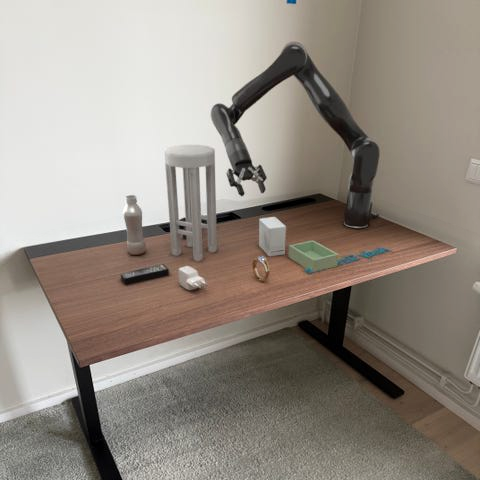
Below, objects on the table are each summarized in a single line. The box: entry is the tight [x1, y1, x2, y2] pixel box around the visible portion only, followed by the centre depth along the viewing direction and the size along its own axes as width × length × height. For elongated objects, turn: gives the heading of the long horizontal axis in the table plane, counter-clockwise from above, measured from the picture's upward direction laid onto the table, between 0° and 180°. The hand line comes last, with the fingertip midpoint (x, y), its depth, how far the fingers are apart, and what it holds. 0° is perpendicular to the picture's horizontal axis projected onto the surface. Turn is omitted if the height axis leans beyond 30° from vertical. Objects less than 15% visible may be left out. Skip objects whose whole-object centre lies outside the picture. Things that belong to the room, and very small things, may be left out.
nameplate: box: [304, 246, 391, 275], centre depth 162 cm, size 37×1×5 cm
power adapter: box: [177, 265, 209, 291], centre depth 141 cm, size 11×5×6 cm, turn 39°
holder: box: [287, 240, 340, 273], centre depth 160 cm, size 10×14×4 cm
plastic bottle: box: [122, 194, 147, 255], centre depth 162 cm, size 6×7×20 cm
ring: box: [252, 255, 270, 282], centre depth 147 cm, size 7×3×8 cm, turn 31°
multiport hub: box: [120, 263, 170, 286], centre depth 149 cm, size 4×14×2 cm, turn 120°
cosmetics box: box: [258, 216, 287, 257], centre depth 167 cm, size 10×6×10 cm, turn 18°
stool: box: [163, 144, 218, 262], centre depth 158 cm, size 16×16×35 cm
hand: (253, 193), depth 171 cm, fingers open, 8 cm apart
